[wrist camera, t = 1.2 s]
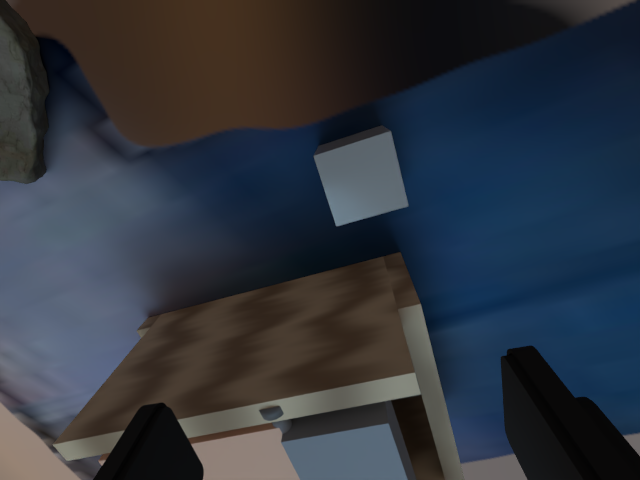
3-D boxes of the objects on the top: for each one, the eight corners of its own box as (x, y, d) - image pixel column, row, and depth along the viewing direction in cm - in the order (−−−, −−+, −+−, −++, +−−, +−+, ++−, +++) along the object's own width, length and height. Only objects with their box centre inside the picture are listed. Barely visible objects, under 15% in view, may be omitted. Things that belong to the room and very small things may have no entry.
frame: (400, 251, 29) (446, 370, 16) (439, 402, 35) (494, 573, 23) (147, 317, 33) (28, 453, 21) (222, 442, 40) (166, 605, 27)
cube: (381, 125, 25) (390, 130, 21) (397, 187, 27) (408, 206, 22) (318, 146, 26) (313, 155, 22) (337, 205, 28) (336, 226, 23)
